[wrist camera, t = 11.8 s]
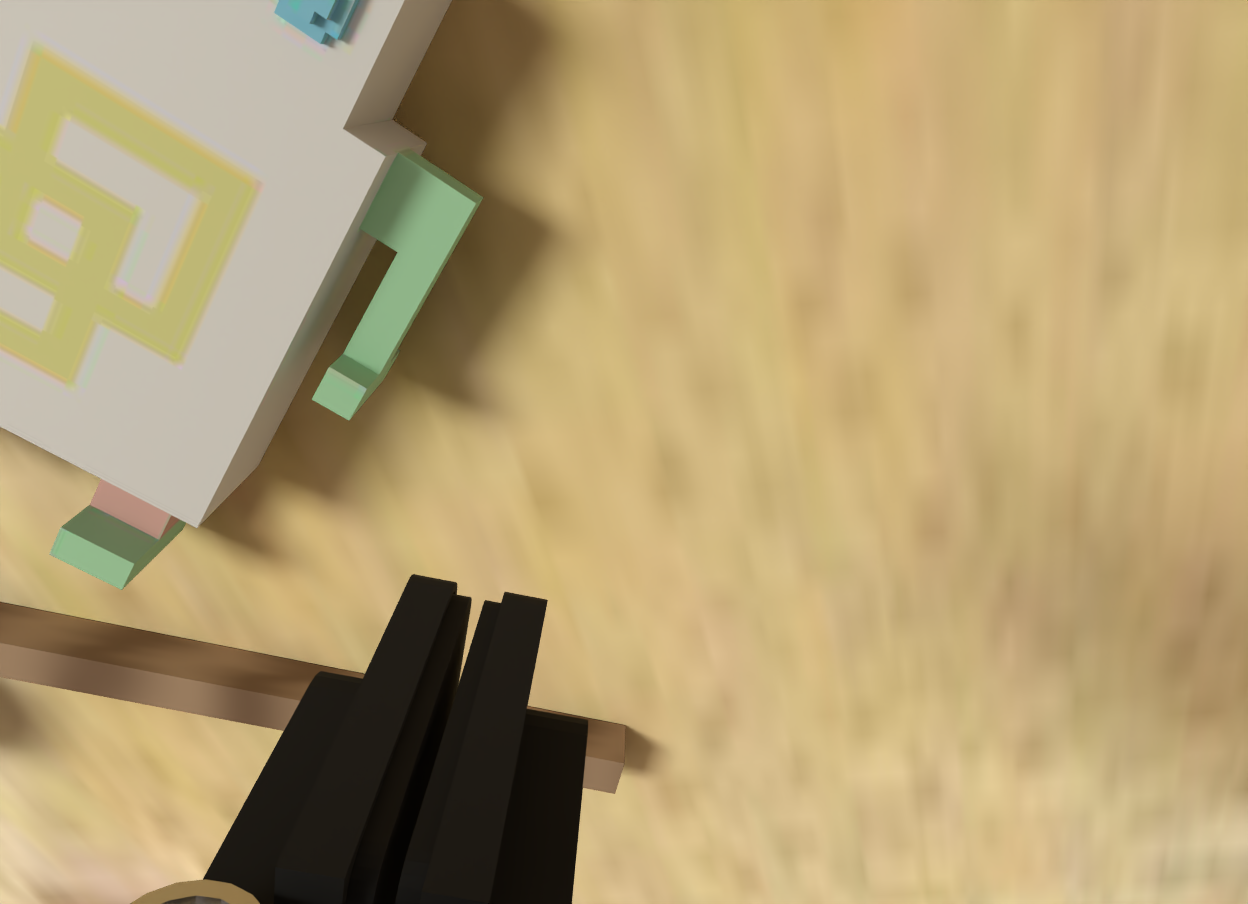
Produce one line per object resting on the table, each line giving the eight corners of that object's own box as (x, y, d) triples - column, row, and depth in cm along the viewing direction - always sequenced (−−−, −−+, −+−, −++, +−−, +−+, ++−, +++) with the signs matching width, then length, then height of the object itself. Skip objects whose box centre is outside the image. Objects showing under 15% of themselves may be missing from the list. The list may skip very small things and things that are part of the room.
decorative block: (-188, -505, 19) (561, 38, 23) (9, -367, 25) (577, 45, 29) (-338, 383, 28) (216, 651, 32) (-169, 329, 34) (282, 563, 38)
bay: (908, -187, 26) (1013, -291, 18) (593, 829, 44) (583, 978, 37) (-381, -567, 23) (-865, -871, 15) (-137, 693, 41) (-303, 826, 34)
